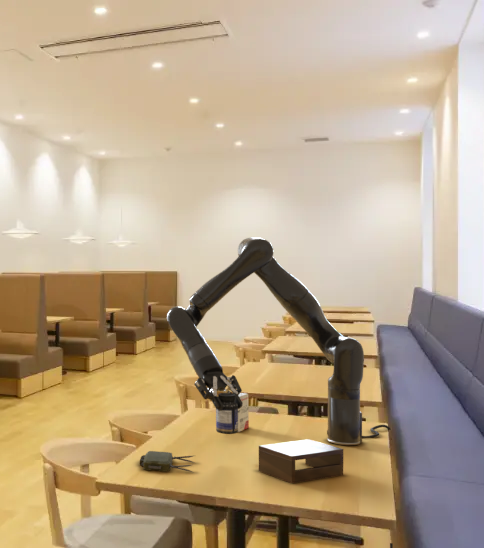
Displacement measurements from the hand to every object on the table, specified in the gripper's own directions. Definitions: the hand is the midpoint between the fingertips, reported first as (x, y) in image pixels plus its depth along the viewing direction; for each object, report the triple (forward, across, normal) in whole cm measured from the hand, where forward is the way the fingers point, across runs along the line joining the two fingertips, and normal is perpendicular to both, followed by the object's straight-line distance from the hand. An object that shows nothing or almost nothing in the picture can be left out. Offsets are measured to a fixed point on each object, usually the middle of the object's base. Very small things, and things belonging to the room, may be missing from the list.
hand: (230, 408), depth 209 cm
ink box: (-10, +28, +32) cm, 43 cm away
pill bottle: (+4, 0, +6) cm, 8 cm away
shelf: (+24, +8, -3) cm, 25 cm away
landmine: (+9, -21, +12) cm, 26 cm away
